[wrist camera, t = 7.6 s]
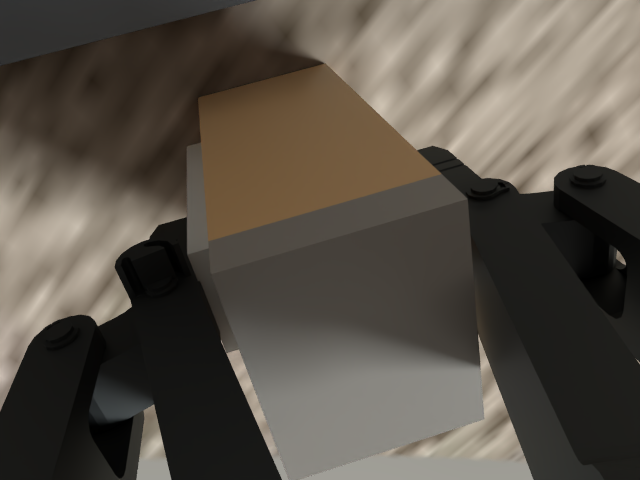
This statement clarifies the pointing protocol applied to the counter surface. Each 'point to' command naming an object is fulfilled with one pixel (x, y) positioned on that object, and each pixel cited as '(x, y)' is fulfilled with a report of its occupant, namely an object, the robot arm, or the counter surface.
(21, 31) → the gray fixture base
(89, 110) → the counter surface
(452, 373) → the plug
